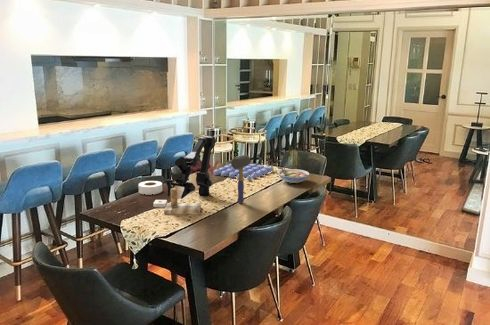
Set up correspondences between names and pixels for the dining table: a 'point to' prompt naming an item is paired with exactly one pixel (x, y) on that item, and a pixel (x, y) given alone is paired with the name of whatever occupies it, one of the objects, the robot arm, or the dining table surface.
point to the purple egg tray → (246, 171)
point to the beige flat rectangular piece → (183, 208)
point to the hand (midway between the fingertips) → (174, 197)
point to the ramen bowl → (293, 175)
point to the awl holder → (160, 203)
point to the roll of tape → (150, 187)
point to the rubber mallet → (240, 173)
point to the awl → (174, 198)
